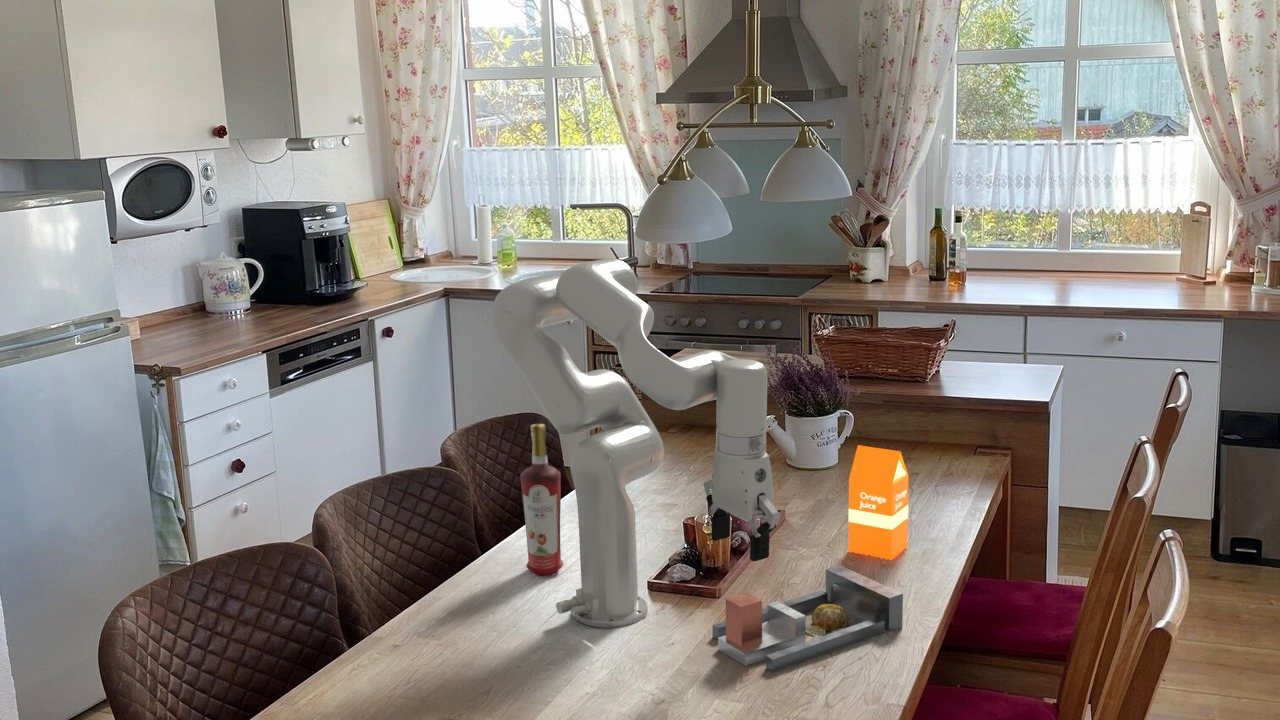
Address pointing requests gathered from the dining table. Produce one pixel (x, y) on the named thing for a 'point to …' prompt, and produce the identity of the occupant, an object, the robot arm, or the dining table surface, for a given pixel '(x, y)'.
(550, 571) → the liquor
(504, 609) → the dining table surface
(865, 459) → the orange juice
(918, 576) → the dining table surface
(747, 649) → the ram
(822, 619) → the fruit
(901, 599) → the press frame
